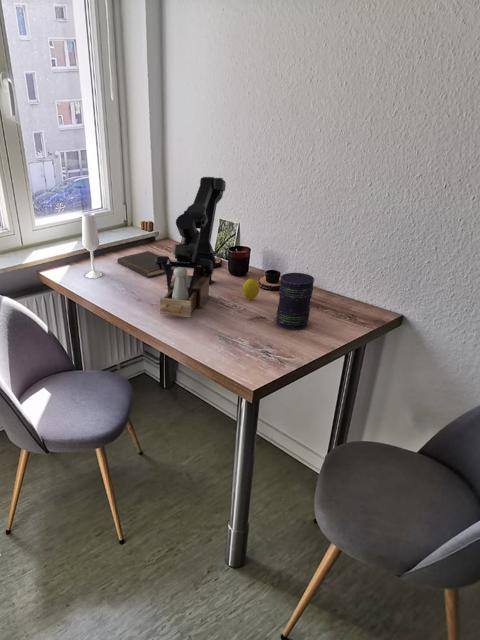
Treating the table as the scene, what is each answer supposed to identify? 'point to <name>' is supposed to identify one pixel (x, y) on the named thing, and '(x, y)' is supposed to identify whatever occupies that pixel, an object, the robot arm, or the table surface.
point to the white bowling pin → (180, 284)
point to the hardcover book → (142, 263)
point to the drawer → (178, 304)
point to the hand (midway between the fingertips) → (179, 288)
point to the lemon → (251, 288)
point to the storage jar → (294, 301)
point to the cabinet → (196, 288)
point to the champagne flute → (90, 239)
